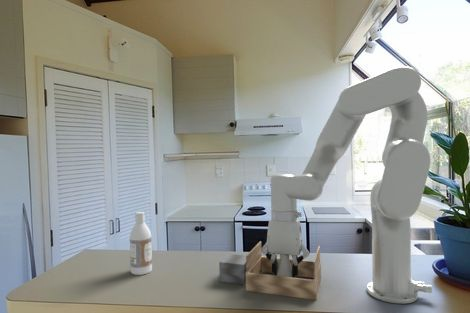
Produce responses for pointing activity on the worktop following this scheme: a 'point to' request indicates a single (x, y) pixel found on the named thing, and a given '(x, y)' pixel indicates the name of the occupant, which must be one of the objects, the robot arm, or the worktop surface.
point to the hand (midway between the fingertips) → (285, 275)
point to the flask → (284, 266)
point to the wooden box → (281, 283)
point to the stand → (233, 269)
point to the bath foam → (140, 246)
